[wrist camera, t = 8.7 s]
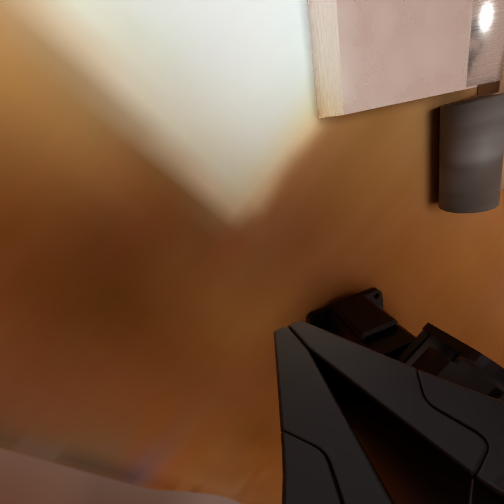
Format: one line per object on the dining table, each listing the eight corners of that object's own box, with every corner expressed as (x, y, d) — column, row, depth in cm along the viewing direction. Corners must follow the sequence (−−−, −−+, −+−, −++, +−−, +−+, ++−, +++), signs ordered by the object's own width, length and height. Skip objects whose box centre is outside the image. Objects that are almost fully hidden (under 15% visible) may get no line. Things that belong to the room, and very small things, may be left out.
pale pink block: (462, 88, 21) (518, 78, 18) (317, 118, 19) (349, 114, 16) (472, -44, 19) (539, -83, 15) (303, -26, 16) (340, -68, 13)
